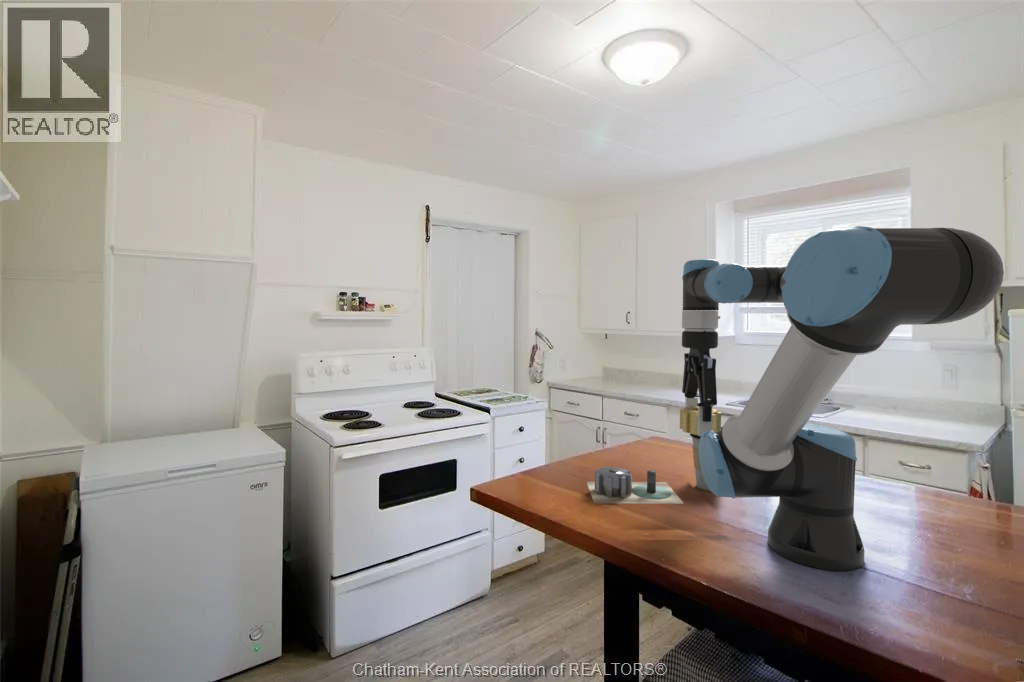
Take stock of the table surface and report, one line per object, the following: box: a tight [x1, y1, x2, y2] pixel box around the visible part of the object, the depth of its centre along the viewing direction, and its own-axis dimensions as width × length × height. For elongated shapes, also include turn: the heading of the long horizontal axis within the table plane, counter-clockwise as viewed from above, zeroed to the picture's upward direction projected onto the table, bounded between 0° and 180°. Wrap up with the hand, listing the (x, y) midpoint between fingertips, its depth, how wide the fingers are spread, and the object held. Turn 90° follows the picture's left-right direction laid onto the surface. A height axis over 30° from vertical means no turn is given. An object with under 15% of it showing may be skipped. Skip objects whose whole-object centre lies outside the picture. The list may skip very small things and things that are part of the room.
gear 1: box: [594, 466, 633, 497], centre depth 116 cm, size 8×8×5 cm
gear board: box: [586, 469, 685, 505], centre depth 116 cm, size 14×20×7 cm
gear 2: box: [679, 406, 722, 435], centre depth 110 cm, size 8×8×5 cm
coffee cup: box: [689, 426, 723, 492], centre depth 123 cm, size 9×9×15 cm
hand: (697, 430), depth 110 cm, fingers closed on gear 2, 8 cm apart
